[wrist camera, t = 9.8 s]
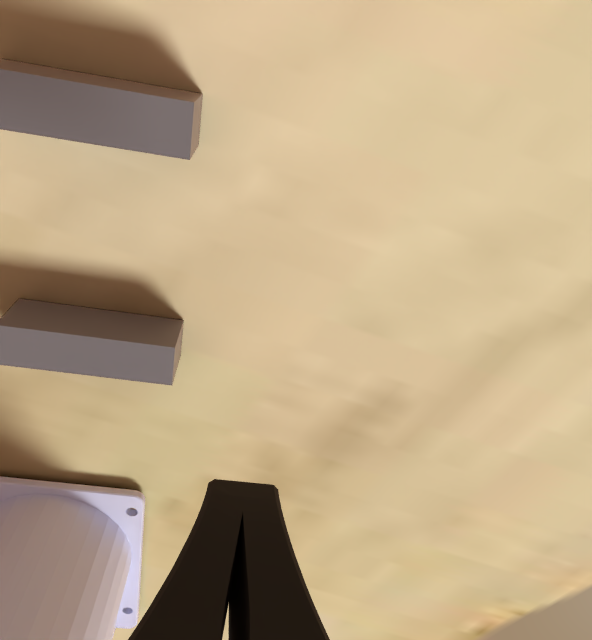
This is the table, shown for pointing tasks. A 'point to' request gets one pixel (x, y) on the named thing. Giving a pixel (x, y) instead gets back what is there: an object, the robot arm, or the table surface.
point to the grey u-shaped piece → (113, 131)
